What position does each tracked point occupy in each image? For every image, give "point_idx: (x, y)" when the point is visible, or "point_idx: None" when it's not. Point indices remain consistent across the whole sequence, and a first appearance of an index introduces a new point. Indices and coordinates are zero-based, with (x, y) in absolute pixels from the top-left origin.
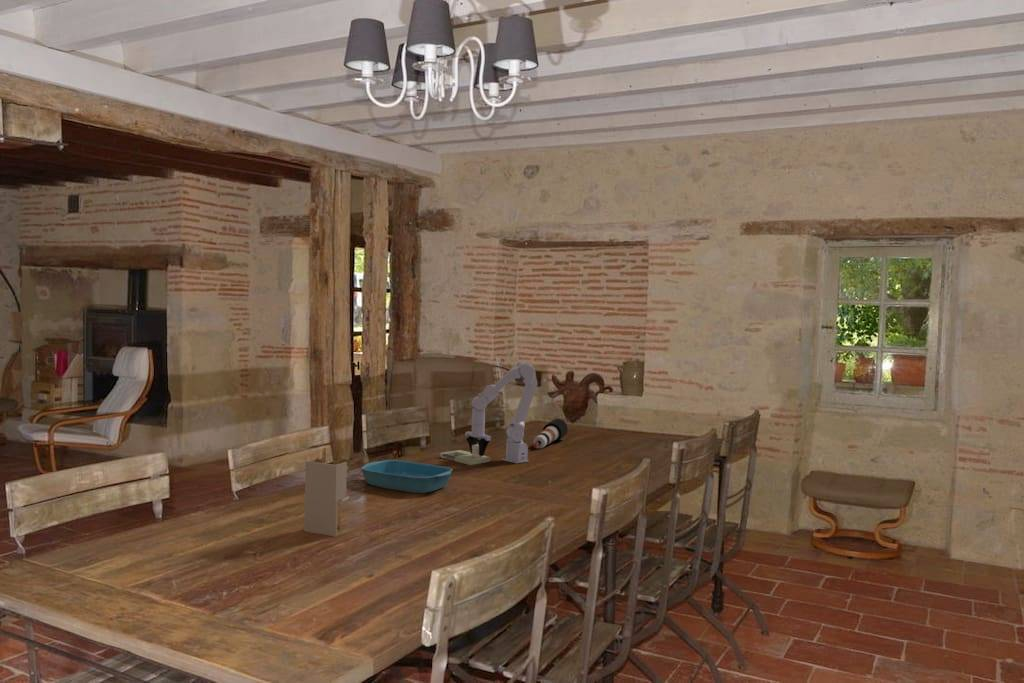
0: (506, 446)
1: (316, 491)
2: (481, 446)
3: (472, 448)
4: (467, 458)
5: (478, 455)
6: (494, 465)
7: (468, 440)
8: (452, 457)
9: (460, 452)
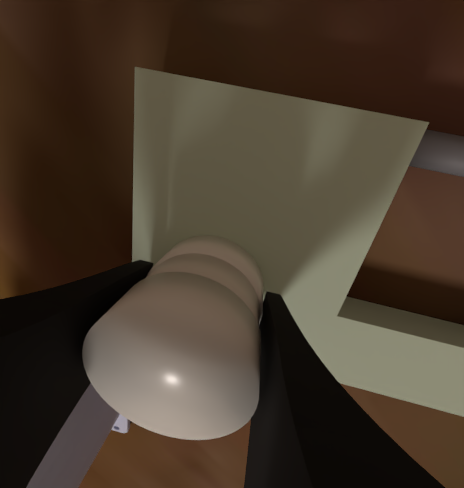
0: (31, 478)
1: None
2: (2, 305)
3: (216, 292)
4: (226, 145)
5: (160, 259)
6: (41, 223)
7: (353, 462)
8: (461, 137)
9: (458, 351)
